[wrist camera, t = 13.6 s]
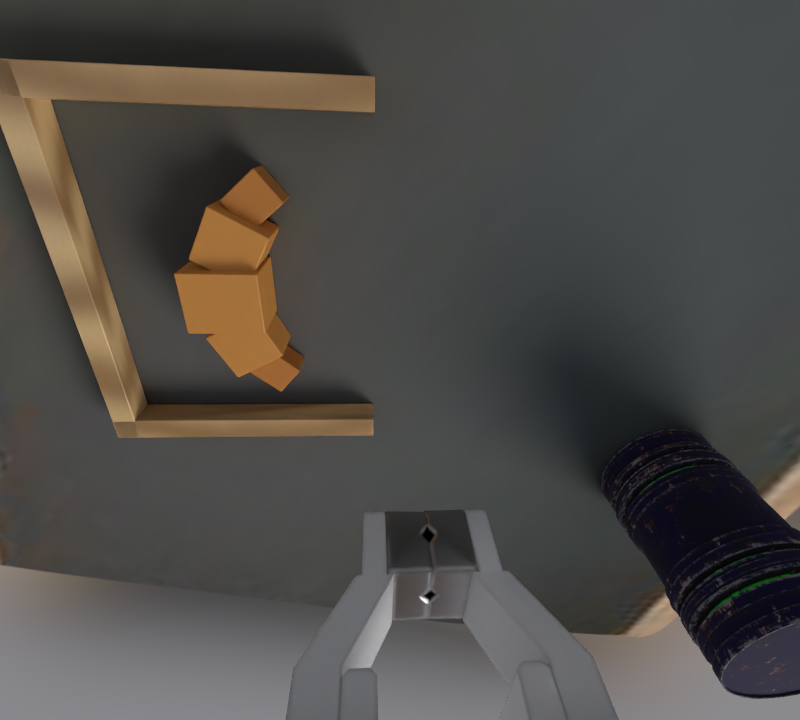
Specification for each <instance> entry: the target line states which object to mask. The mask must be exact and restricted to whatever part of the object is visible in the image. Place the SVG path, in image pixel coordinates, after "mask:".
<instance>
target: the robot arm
mask: <svg viewBox="0 0 800 720" xmlns="http://www.w3.org/2000/svg"><path fill="white" fill-rule="evenodd" d="M445 618H463V621H464V623H465V624H466V626H467V627H468V629H469V630H470V632H471V633H472V634H473V636H474V637H475V639H476V640H477V642H478V643H479V645H480V646H481V647H482V649H483V650H484V652H485V653H486V654H487V656H488V658H489V659H490V660H491V662H492V663H493V665H494V666H495V668H496V669H497V670H498V672H499V673H500V675H501V676H502V678H503V679H504V681H505V682H506V683H507V685H508V686H509V688H510V690H509V692H508V695H507V697H506V700H505V703H504V705H503V708H502V711H501V713H500V716H499V719H498V720H618V717H617V714H616V712H615V709H614V707H613V705H612V702H611V700H610V697H609V695H608V692H607V690H606V687H605V685H604V682H603V680H602V677H601V675H600V672H599V670H598V668H597V665H596V663H595V660H594V658H593V656H592V655H591V654H590V653H589V652H588V651H587V650H586V649H585V648H584V647H583V646H582V645H581V644H580V643H579V642H578V641H577V640H576V639H575V638H574V637H573V636H572V635H571V633H570V632H569V631H568V630H567V629H566V628H565V627H564V626H563V625H562V624H561V623H560V622H559V621H558V620H557V619H556V618H555V617H554V616H553V615H552V614H551V613H550V612H549V611H548V610H547V609H546V608H545V607H544V606H543V605H542V604H541V603H540V602H539V601H538V600H537V599H536V598H535V597H534V596H533V595H532V594H531V593H530V592H529V591H528V590H527V589H526V588H525V587H524V586H523V585H522V584H521V583H520V582H519V581H518V580H517V578H516V577H515V576H514V575H513V574H512V573H511V572H510V571H503V570H502V566H501V563H500V559H499V556H498V552H497V549H496V545H495V542H494V538H493V535H492V531H491V528H490V524H489V521H488V517H487V514H486V512H485V511H484V510H439V511H424V512H365V513H364V525H363V566H362V575H356V576H355V578H354V579H353V581H352V582H351V584H350V585H349V587H348V588H347V590H346V591H345V592H344V594H343V595H342V597H341V598H340V600H339V601H338V603H337V604H336V606H335V607H334V609H333V610H332V612H331V613H330V615H329V616H328V618H327V619H326V621H325V622H324V624H323V625H322V627H321V628H320V630H319V631H318V633H317V634H316V636H315V637H314V639H313V640H312V642H311V643H310V645H309V646H308V648H307V649H306V651H305V652H304V653H303V655H302V656H301V658H300V659H299V661H298V662H297V664H296V665H295V667H294V669H293V674H292V681H291V688H290V694H289V701H288V708H287V714H286V720H378V702H377V700H378V696H377V674H376V673H375V672H374V671H373V670H372V669H371V668H370V667H371V665H372V663H373V661H374V659H375V657H376V655H377V653H378V651H379V649H380V647H381V644H382V643H383V640H384V638H385V636H386V634H387V632H388V630H389V628H390V626H391V624H392V621H398V620H414V619H445Z"/></svg>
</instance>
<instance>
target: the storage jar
mask: <svg viewBox="0 0 800 720" xmlns="http://www.w3.org/2000/svg"><path fill="white" fill-rule="evenodd" d="M601 487H602V491H603V493H604V495H605V497H606V498H607V500H608V501H609V502H610V504H611V505H612V508H613V509H614V511H615V513H616V517H617V518H618V520H619V522H620V523H621V525H622V527H623V528H624V530H625V531H626V532H627V533H628V534H629V537H630V538H631V540H632V541H633V542H634V544H635V546H636V547H637V548H638V549H639V550H640V552H642V553H643V554H645V556H646V557H647V559H648V560H649V562H650V563H651V565H652V567H653V568H654V570H655V571H656V573H657V575H658V576H659V578H660V579H661V581H662V583H663V584H664V586H665V590H666V595H667V597H668V599H669V600H670V604H671V606H672V608H673V610H674V611H676V612H677V613H678V615H679V617H680V618H681V622H682V624H683V625H684V627H685V629H686V630H687V632H688V634H689V635H690V637H691V638H692V640H693V642H694V643H695V644H696V645H697V646H698V647H699V648H700V650H701V652H702V653H703V655H704V656H705V658H706V660H707V661H708V662H709V663H710V664H711V665H712V668H713V670H714V672H715V674H716V676H717V677H718V679H719V681H720V682H721V684H722V686H723V687H724V688H725V689H726V690H727V691H728V692H730V693H732V694H734V695H737V696H740V697H746V698H755V699H768V698H779V697H787V696H793V695H797V694H800V531H799V530H797V529H795V528H792V527H791V526H790V525H789V524H788V523H787V522H786V521H785V520H784V519H783V518H782V517H781V516H780V515H779V514H778V513H777V512H776V511H775V510H774V509H773V508H772V507H771V506H769V505H768V504H767V503H766V502H765V501H764V500H763V499H762V498H761V497H760V494H759V492H758V490H757V489H756V487H755V486H754V485H753V484H752V483H751V482H750V481H749V480H748V479H747V478H745V477H744V476H743V475H742V473H741V471H740V470H739V469H738V468H737V467H736V466H735V465H734V464H733V463H732V462H731V461H729V460H728V459H727V458H726V457H725V456H723V455H721V454H720V453H719V452H718V451H717V450H716V449H714V448H712V446H711V445H710V443H709V442H707V441H706V440H705V439H704V438H703V437H702V436H701V435H699V434H697V433H695V432H692V431H689V430H684V429H666V430H660V431H656V432H652V433H649V434H646V435H644V436H642V437H639V438H637V439H635V440H634V441H632V442H630V443H629V444H627V445H626V446H624V447H623V448H622V449H620V450H619V451H618V452H617V453H616V454H615V455H614V456H613V457H612V459H611V460H610V461H609V462H608V464H607V466H606V467H605V469H604V472H603V474H602V479H601Z"/></svg>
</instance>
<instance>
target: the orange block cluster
mask: <svg viewBox="0 0 800 720" xmlns="http://www.w3.org/2000/svg"><path fill="white" fill-rule="evenodd" d="M288 199H289V196H288V195H287V194H286V192H285V191H284V190H283V189H282V188H281V187H280V186H279V184H278V183H277V182H276V181H275V180H274V179H273V178H272V176H271V175H270V174H269V173H268V172H267V171H266V170H265V168H264V167H263V166H262V165H261V166H258V167H255V168H253V169H251V170H250V171H249V172H248V173H247V174H246V175H245V176H244V177H243V178H242V179H241V180H240V181H239V182H238V183H237V184H236V185H235V186H234V187H233V188H232V189H231V190H230V191H229V192H228V193H227V194H226V195H225V196H224V197H223V198H222V199H220V200H218V201H216V202H214V203H212V204H210V205H208V206H207V207H206V209H205V212H204V215H203V218H202V221H201V223H200V226H199V229H198V232H197V235H196V238H195V241H194V244H193V247H192V250H191V253H190V256H189V260H190V262H189V263H188V264H186V265H185V266H184V267H182V268H181V269H180V270H178V271H177V272H176V273H174V276H175V280H176V284H177V288H178V293H179V297H180V301H181V305H182V309H183V314H184V318H185V322H186V326H187V330H188V333H199V334H209V335H208V336H207V337H206V339H207V340H208V342H209V343H210V344H211V345H212V346H213V348H214V349H215V350H216V351H217V352H218V354H219V355H220V356H221V357H222V359H223V360H224V361H225V362H226V363H227V365H228V366H229V367H230V368H231V369H232V371H233V372H234V373H235V374H236V375H237V377H240V376H242V375H244V374H247V373H249V372H250V373H252V374H254V375H255V376H257V377H258V378H260V379H262V380H263V381H265V382H266V383H268V384H270V385H271V386H273V387H274V388H276V389H278V390H279V391H283V390H284V388H285V387H286V386H287V385H288V384H289V383H290V382H291V381H292V379H293V378H294V377H295V376H296V375H297V374H298V373H299V372H300V369H301V365H302V362H303V359H304V356H302V355H301V354H299V353H298V352H296V351H295V350H293V349H292V348H290V347H289V346H288V345H287V344H288V341H289V339H290V336H291V335H290V333H289V332H288V330H287V329H286V328H285V326H284V325H283V323H282V322H281V320H280V319H279V318H278V316H277V315H276V311H277V305H276V297H275V289H274V280H273V272H272V264H271V257H267V256H268V253H269V251H270V249H271V246H272V244H273V242H274V239H275V237H276V235H277V232H278V230H279V226H277V225H275V224H274V223H272V222H270V221H268V220H266V219H267V218H268V217H269V216H270V215H271V214H272V213H274V212H275V211H276V210H277V209H278V208H279V207H280V206H281V205H282V204H283V203H284V202H285V201H286V200H288Z"/></svg>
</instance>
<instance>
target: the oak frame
mask: <svg viewBox="0 0 800 720" xmlns="http://www.w3.org/2000/svg"><path fill="white" fill-rule="evenodd" d="M51 100H71V101H95V102H119V103H143V104H167V105H191V106H215V107H239V108H263V109H287V110H311V111H335V112H359V113H374V112H375V76H363V75H342V74H321V73H300V72H279V71H258V70H236V69H215V68H194V67H173V66H152V65H131V64H110V63H89V62H68V61H47V60H26V59H5V58H0V125H1V128H2V131H3V133H4V136H5V139H6V141H7V144H8V146H9V149H10V152H11V154H12V157H13V160H14V162H15V165H16V168H17V170H18V173H19V176H20V178H21V181H22V183H23V186H24V189H25V191H26V194H27V197H28V199H29V202H30V205H31V207H32V210H33V212H34V215H35V218H36V220H37V223H38V226H39V228H40V231H41V234H42V236H43V239H44V242H45V244H46V247H47V249H48V252H49V255H50V257H51V260H52V263H53V265H54V268H55V271H56V273H57V276H58V279H59V281H60V284H61V286H62V289H63V292H64V294H65V297H66V300H67V302H68V305H69V308H70V310H71V313H72V315H73V318H74V321H75V323H76V326H77V329H78V331H79V334H80V337H81V339H82V342H83V345H84V347H85V350H86V352H87V355H88V358H89V360H90V363H91V366H92V368H93V371H94V374H95V376H96V379H97V382H98V384H99V387H100V389H101V392H102V395H103V397H104V400H105V403H106V405H107V408H108V411H109V413H110V416H111V418H112V421H113V424H114V426H115V429H116V432H117V434H118V437H119V438H135V437H244V436H358V435H373V404H148V403H147V400H146V397H145V394H144V391H143V388H142V384H141V381H140V378H139V375H138V372H137V369H136V366H135V363H134V359H133V356H132V353H131V350H130V347H129V344H128V341H127V337H126V334H125V331H124V328H123V325H122V322H121V319H120V315H119V312H118V309H117V306H116V303H115V300H114V297H113V294H112V290H111V287H110V284H109V281H108V278H107V275H106V272H105V268H104V265H103V262H102V259H101V256H100V253H99V250H98V246H97V243H96V240H95V237H94V234H93V231H92V228H91V225H90V221H89V218H88V215H87V212H86V209H85V206H84V203H83V199H82V196H81V193H80V190H79V187H78V184H77V181H76V177H75V174H74V171H73V168H72V165H71V162H70V159H69V156H68V152H67V149H66V146H65V143H64V140H63V137H62V134H61V130H60V127H59V124H58V121H57V118H56V115H55V112H54V108H53V105H52V102H51Z"/></svg>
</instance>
